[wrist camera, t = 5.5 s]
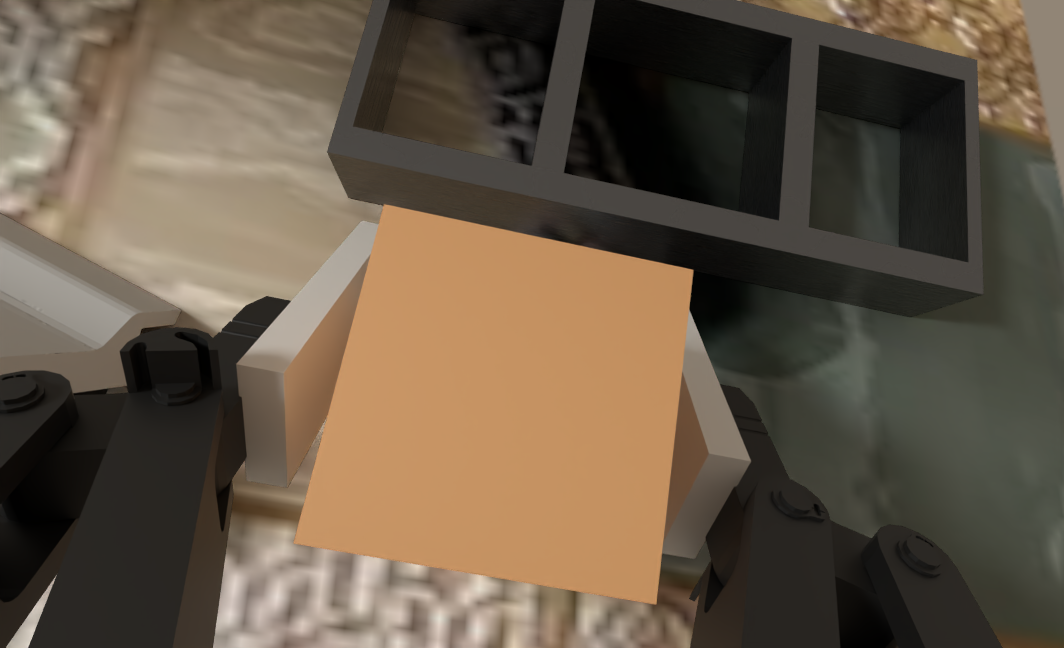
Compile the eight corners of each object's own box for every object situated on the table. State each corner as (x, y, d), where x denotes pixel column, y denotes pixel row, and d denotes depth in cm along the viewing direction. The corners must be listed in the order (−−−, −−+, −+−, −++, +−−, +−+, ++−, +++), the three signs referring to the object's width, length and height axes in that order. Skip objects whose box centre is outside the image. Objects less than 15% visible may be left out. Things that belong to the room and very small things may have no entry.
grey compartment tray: (348, 197, 19) (327, 151, 16) (407, -11, 21) (398, -84, 18) (910, 317, 21) (983, 294, 18) (912, 110, 23) (976, 60, 20)
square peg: (541, 512, 18) (656, 604, 7) (401, 487, 17) (293, 543, 7) (564, 374, 19) (693, 270, 8) (432, 348, 18) (384, 204, 8)
